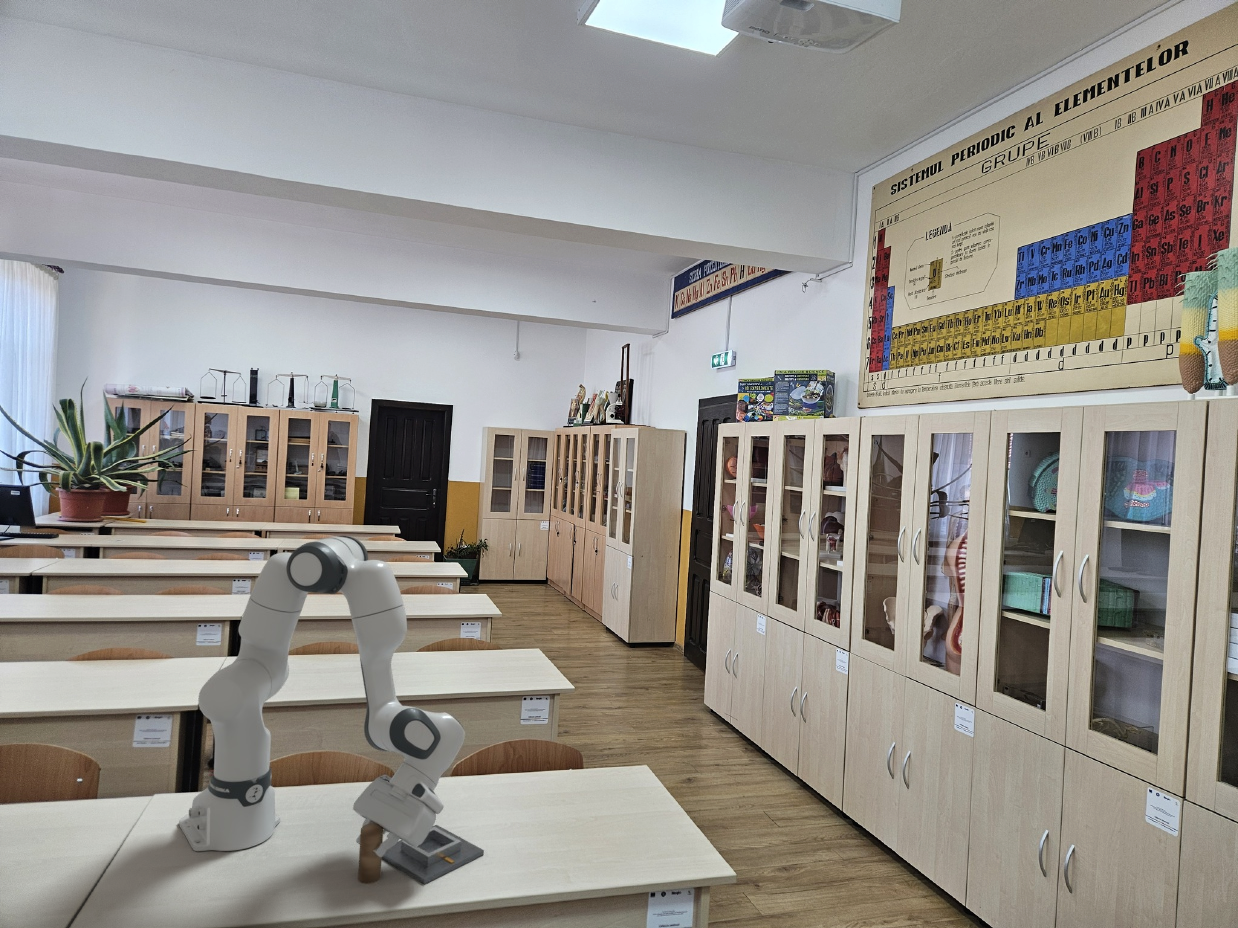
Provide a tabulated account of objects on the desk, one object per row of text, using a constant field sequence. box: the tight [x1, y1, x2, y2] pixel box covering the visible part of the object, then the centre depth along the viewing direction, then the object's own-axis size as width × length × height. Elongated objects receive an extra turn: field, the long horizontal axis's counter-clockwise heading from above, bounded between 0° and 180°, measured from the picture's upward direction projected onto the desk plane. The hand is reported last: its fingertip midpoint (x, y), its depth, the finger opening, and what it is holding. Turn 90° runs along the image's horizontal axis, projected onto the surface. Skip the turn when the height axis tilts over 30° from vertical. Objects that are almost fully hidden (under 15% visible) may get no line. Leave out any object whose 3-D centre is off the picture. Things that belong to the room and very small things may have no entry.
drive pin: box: [357, 823, 384, 884], centre depth 158 cm, size 4×4×10 cm
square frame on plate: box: [382, 824, 485, 885], centre depth 168 cm, size 16×16×3 cm
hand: (368, 849), depth 158 cm, fingers closed on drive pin, 4 cm apart
